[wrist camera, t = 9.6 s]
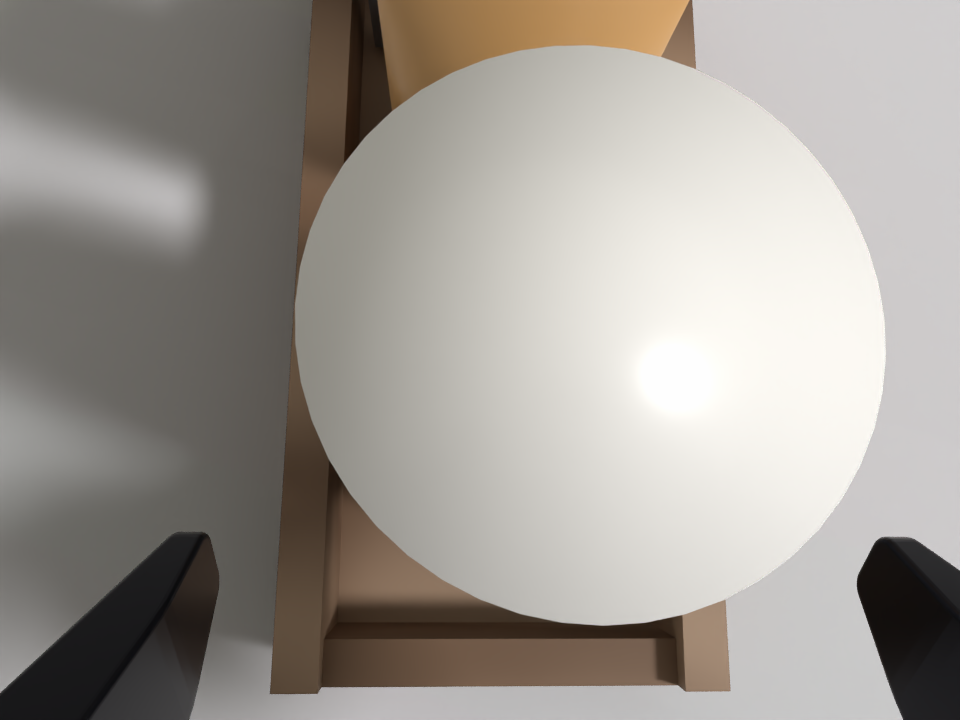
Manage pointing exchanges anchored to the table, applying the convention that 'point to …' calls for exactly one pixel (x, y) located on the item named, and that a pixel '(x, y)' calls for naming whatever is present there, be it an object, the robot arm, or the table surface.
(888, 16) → the table surface
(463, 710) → the table surface
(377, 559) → the pusher lane
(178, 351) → the table surface
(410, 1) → the amber jar
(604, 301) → the grey jar
